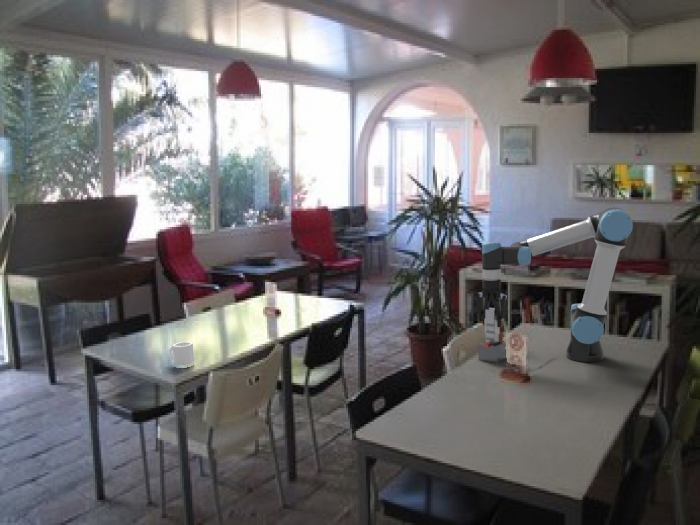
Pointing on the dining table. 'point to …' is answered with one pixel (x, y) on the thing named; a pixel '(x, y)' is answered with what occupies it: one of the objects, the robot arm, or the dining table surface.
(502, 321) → the mug
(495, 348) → the stand base
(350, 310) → the dining table surface
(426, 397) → the dining table surface
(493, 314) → the column
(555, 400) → the dining table surface
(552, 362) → the dining table surface
